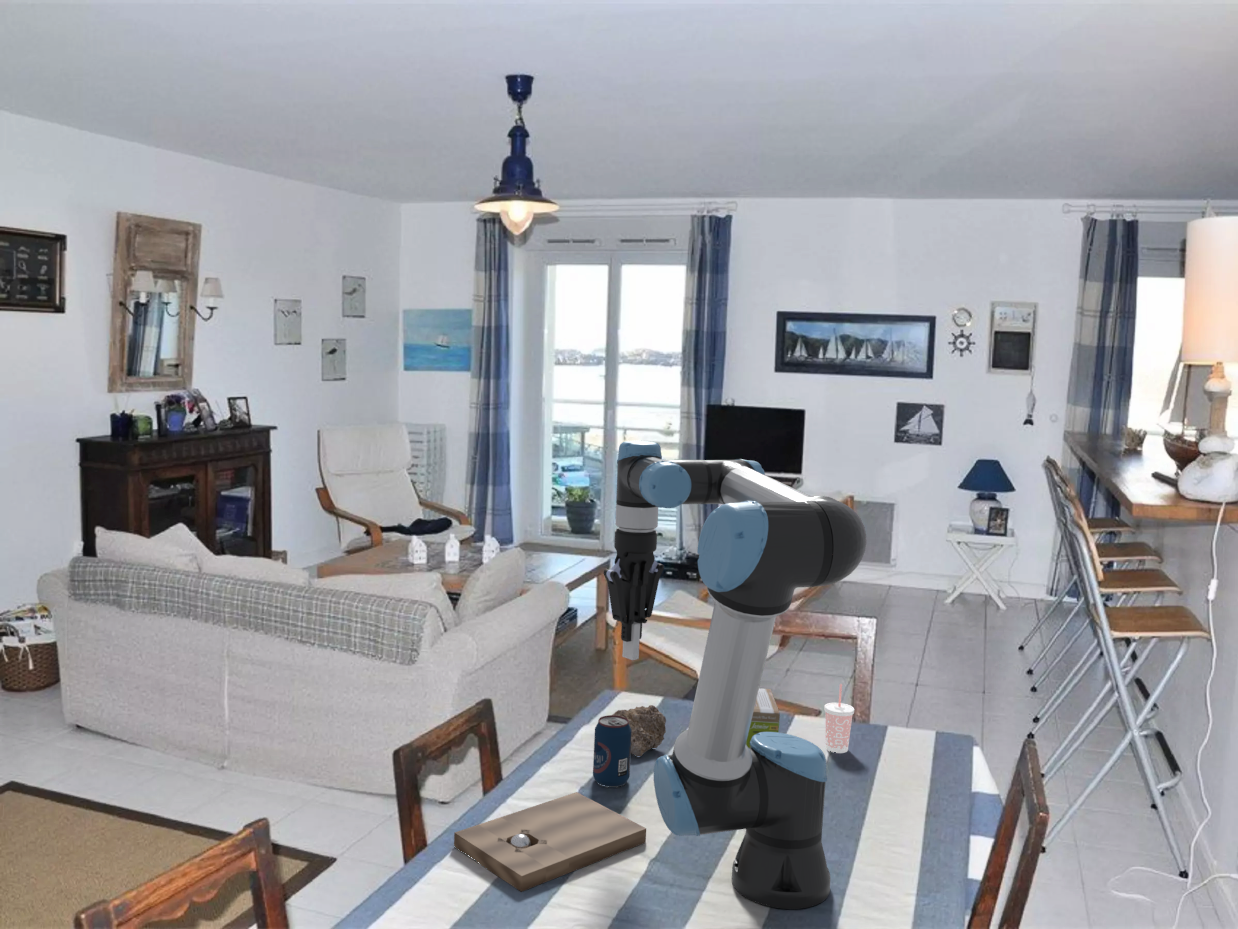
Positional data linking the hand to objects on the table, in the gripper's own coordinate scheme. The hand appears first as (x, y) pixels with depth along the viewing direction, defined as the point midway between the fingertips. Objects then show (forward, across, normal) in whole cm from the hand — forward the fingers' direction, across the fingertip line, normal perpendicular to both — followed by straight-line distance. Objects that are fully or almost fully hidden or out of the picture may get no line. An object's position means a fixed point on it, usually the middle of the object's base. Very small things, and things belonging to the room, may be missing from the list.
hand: (630, 657), depth 194 cm
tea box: (+27, -28, +5) cm, 39 cm away
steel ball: (+25, +28, +6) cm, 38 cm away
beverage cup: (+27, -52, +9) cm, 59 cm away
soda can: (+27, -3, -7) cm, 28 cm away
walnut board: (+26, +22, +6) cm, 35 cm away
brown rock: (+27, -18, -16) cm, 36 cm away
